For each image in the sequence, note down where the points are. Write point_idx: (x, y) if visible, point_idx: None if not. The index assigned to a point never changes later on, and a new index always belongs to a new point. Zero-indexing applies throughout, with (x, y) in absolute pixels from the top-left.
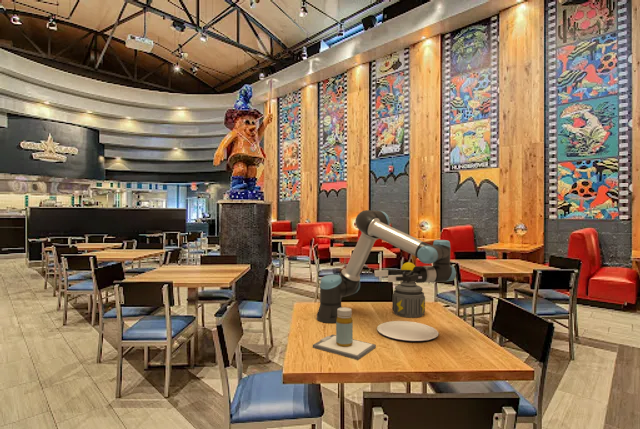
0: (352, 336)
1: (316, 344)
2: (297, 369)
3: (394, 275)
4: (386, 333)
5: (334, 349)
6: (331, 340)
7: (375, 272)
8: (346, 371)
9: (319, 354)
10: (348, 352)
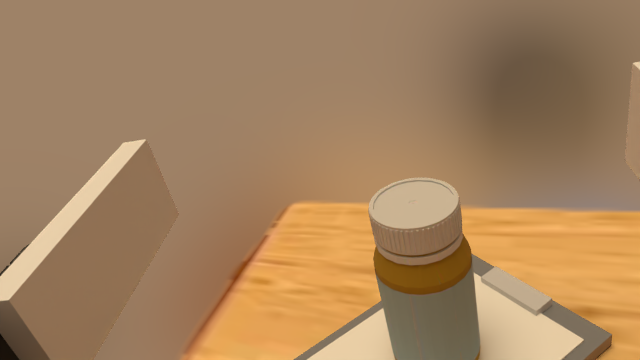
0: (413, 354)
1: None
2: (300, 217)
3: (78, 193)
4: None
5: None
6: (499, 311)
7: (632, 95)
8: (219, 319)
9: None
10: (332, 345)
